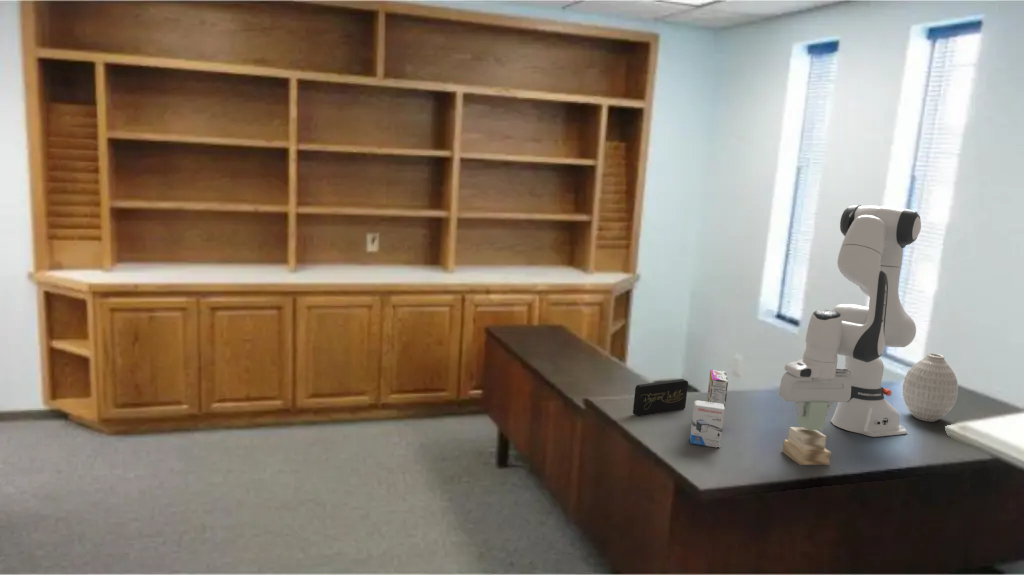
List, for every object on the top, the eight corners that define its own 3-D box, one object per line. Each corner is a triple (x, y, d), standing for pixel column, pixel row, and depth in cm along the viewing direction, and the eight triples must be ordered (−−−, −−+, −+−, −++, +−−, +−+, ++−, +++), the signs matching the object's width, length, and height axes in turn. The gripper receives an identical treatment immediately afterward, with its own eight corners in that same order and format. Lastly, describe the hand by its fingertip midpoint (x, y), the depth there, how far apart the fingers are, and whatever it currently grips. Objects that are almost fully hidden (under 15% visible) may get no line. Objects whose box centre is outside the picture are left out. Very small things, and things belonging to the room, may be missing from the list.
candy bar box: (703, 418, 235) (709, 369, 232) (720, 420, 234) (726, 371, 231) (705, 430, 224) (712, 378, 222) (722, 433, 224) (729, 381, 221)
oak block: (810, 452, 214) (812, 439, 213) (828, 465, 205) (830, 452, 204) (782, 452, 212) (784, 439, 211) (799, 465, 203) (801, 452, 203)
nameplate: (636, 417, 232) (639, 386, 231) (632, 415, 234) (635, 385, 232) (685, 409, 243) (688, 380, 242) (681, 407, 245) (684, 378, 243)
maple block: (809, 440, 212) (811, 426, 212) (824, 449, 205) (826, 436, 205) (787, 440, 211) (789, 427, 210) (801, 450, 204) (803, 436, 203)
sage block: (813, 423, 210) (817, 396, 209) (823, 429, 206) (827, 402, 204) (797, 423, 210) (801, 396, 208) (807, 429, 205) (811, 402, 203)
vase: (907, 406, 263) (917, 346, 259) (958, 420, 252) (969, 357, 248) (891, 415, 252) (901, 352, 248) (943, 430, 240) (955, 364, 236)
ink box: (689, 444, 213) (694, 405, 211) (689, 437, 218) (694, 399, 215) (720, 448, 211) (725, 409, 209) (719, 442, 216) (724, 403, 214)
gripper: (845, 365, 210) (838, 412, 212) (779, 364, 206) (773, 411, 208) (859, 372, 204) (852, 420, 206) (791, 371, 200) (784, 419, 202)
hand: (811, 415), depth 207 cm, fingers closed on sage block, 5 cm apart
